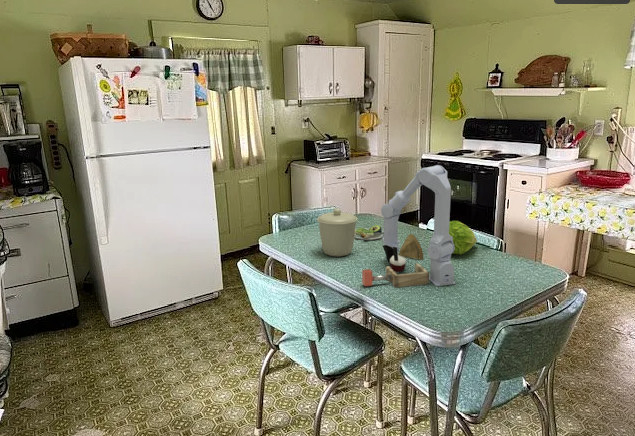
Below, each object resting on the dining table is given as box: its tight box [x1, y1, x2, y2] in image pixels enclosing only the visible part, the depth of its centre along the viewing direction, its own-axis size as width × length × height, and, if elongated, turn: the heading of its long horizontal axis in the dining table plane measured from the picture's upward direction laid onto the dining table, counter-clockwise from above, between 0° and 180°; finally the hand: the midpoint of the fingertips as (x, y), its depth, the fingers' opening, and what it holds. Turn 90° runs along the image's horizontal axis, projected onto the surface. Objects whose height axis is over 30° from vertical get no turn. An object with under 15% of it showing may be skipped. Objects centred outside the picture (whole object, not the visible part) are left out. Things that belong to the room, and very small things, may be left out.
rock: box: [398, 233, 424, 260], centre depth 201 cm, size 11×9×10 cm
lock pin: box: [361, 268, 392, 287], centre depth 173 cm, size 3×11×5 cm, turn 102°
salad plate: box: [354, 224, 384, 241], centre depth 233 cm, size 19×18×5 cm
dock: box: [385, 263, 430, 288], centre depth 177 cm, size 10×13×4 cm
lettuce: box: [449, 220, 478, 255], centre depth 206 cm, size 15×25×16 cm
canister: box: [316, 208, 358, 257], centre depth 207 cm, size 18×18×21 cm
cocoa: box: [389, 247, 407, 273], centre depth 185 cm, size 10×6×12 cm, turn 132°
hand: (390, 262), depth 194 cm, fingers closed
